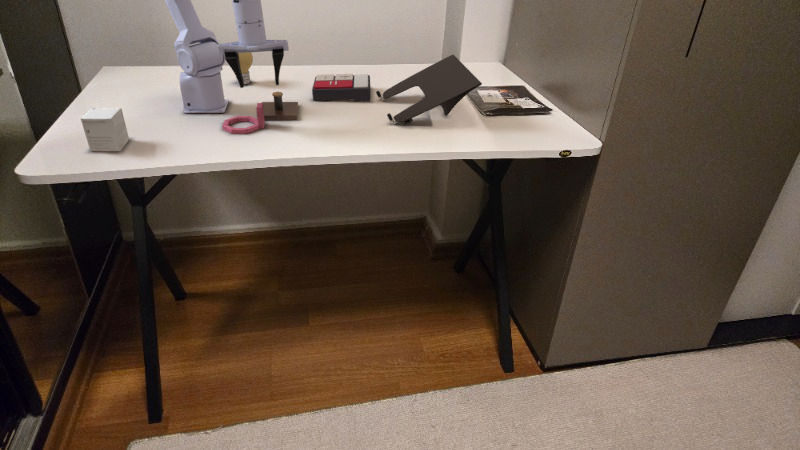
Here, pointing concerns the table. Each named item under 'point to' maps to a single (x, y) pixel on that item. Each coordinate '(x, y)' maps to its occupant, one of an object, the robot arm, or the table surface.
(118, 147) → the product box
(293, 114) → the stand
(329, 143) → the table surface
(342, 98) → the button keypad
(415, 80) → the laptop tray
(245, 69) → the light bulb
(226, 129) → the pink octagonal frame
